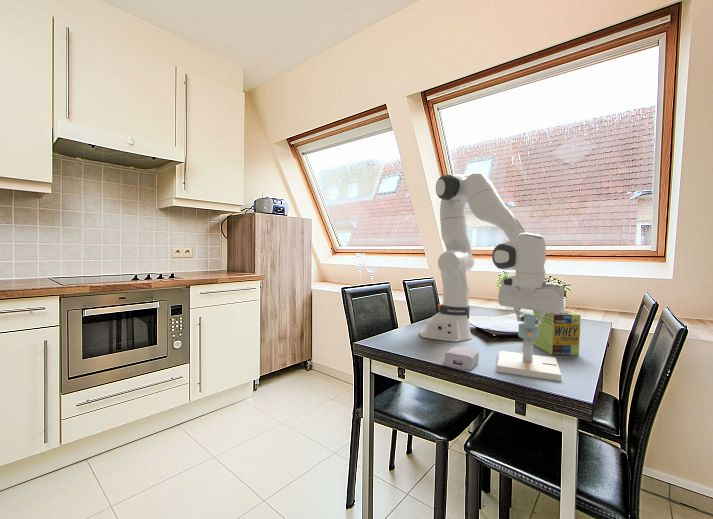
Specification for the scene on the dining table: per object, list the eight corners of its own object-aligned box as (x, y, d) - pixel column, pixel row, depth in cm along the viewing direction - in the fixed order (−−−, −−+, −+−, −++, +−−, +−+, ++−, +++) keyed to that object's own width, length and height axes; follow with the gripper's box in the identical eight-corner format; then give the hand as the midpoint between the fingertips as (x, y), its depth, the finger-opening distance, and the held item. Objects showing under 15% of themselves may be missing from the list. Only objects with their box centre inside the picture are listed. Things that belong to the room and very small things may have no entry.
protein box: (552, 355, 130) (553, 314, 129) (531, 343, 145) (532, 307, 145) (579, 355, 130) (581, 314, 129) (556, 344, 145) (557, 307, 145)
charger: (482, 358, 125) (471, 371, 113) (457, 354, 130) (444, 365, 118) (483, 346, 125) (472, 356, 113) (457, 341, 130) (444, 351, 118)
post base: (497, 371, 112) (497, 341, 112) (499, 355, 128) (500, 329, 128) (561, 381, 104) (562, 348, 104) (555, 363, 121) (556, 335, 120)
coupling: (517, 332, 122) (518, 310, 121) (536, 334, 119) (537, 311, 119) (519, 339, 112) (519, 315, 112) (539, 341, 110) (540, 316, 110)
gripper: (568, 283, 109) (566, 327, 110) (505, 278, 125) (504, 316, 125) (560, 284, 105) (558, 329, 106) (496, 279, 121) (495, 318, 121)
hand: (528, 322), depth 116 cm, fingers closed on coupling, 4 cm apart
